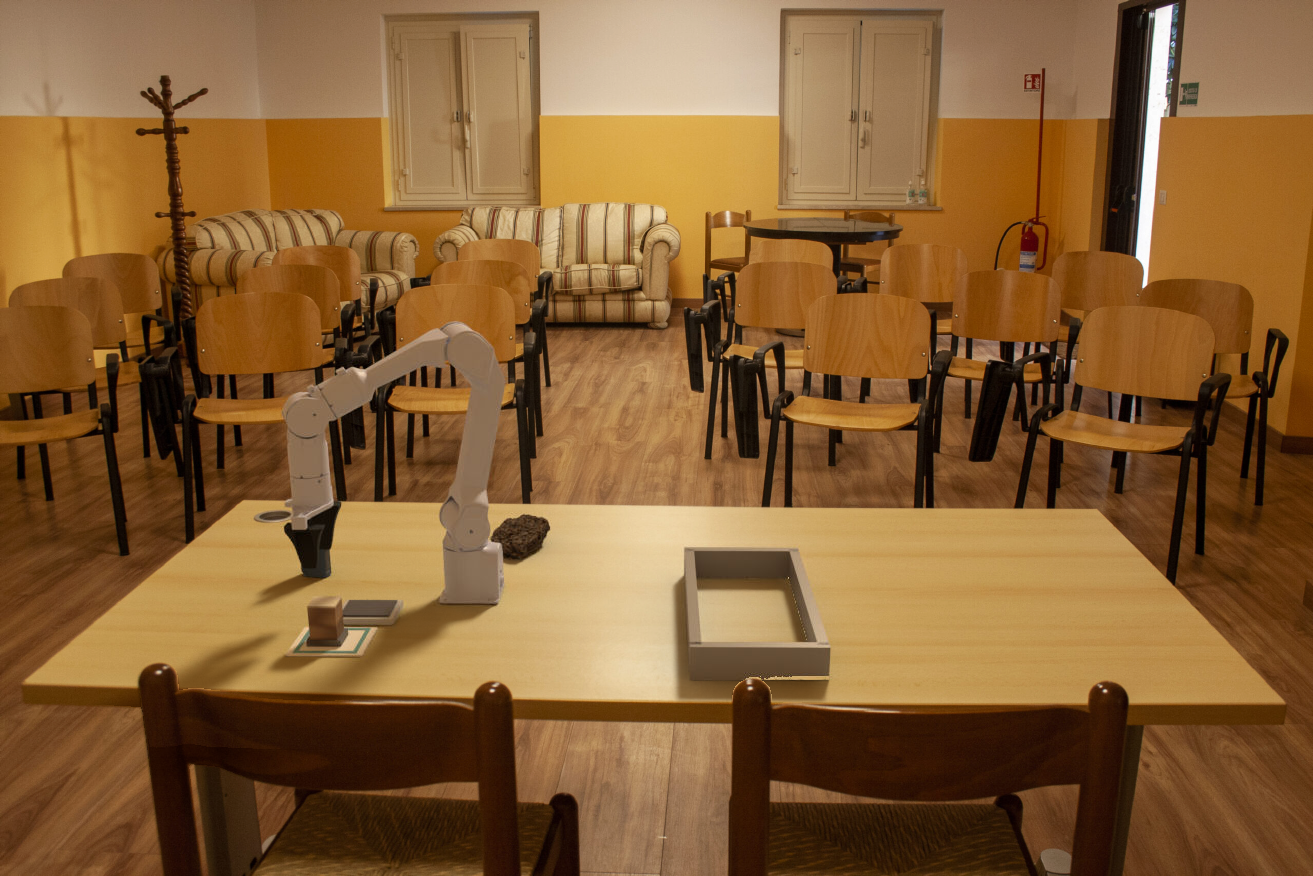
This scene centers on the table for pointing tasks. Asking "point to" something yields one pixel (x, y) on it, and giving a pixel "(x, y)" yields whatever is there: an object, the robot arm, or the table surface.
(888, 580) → the table surface
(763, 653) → the open rectangular frame
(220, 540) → the table surface
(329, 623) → the stamp
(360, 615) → the ink pad
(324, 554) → the vaping device
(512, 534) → the dark brown rock
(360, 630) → the print sheet
